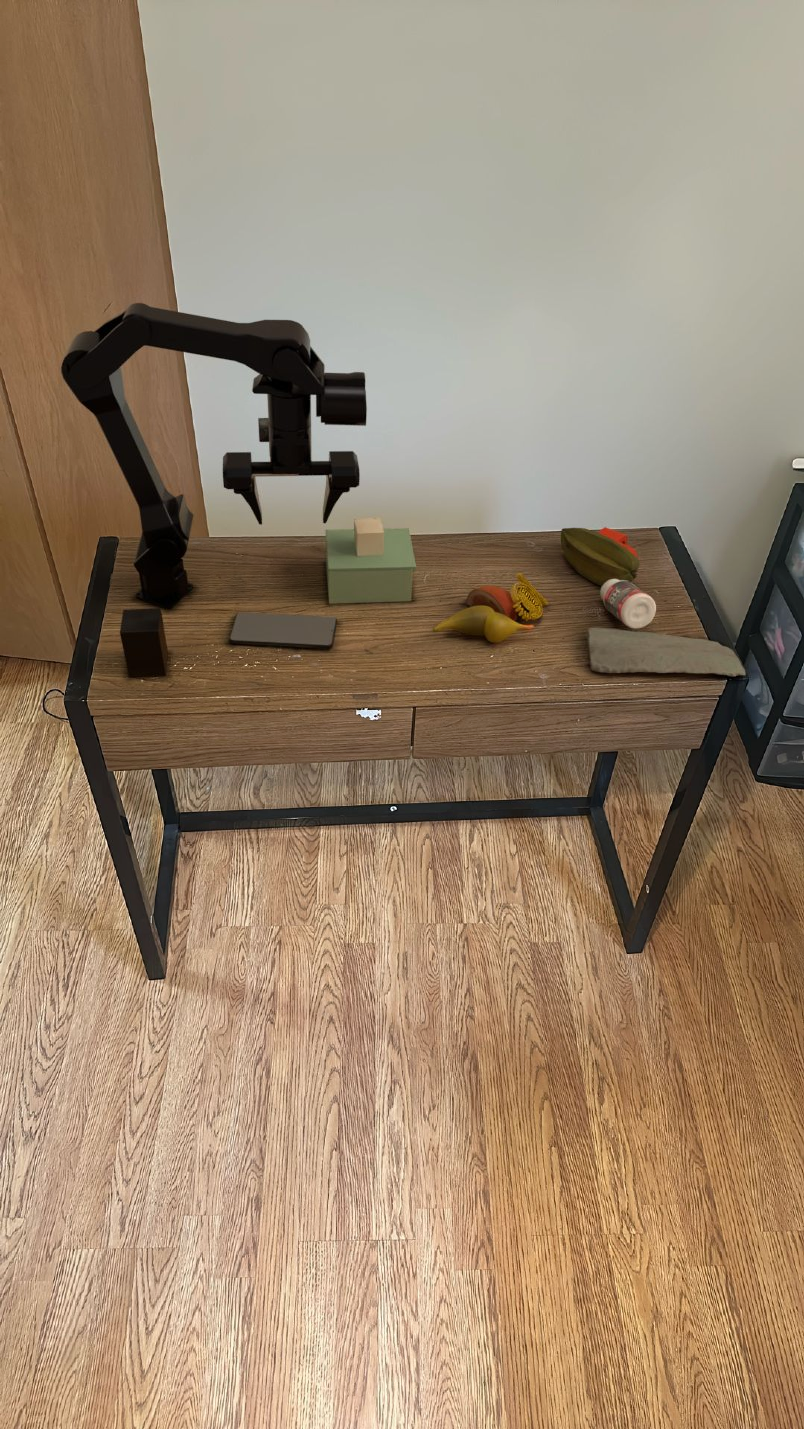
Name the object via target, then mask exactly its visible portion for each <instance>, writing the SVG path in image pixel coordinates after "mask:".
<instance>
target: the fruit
mask: <svg viewBox="0 0 804 1429" xmlns="http://www.w3.org/2000/svg"><path fill="white" fill-rule="evenodd" d="M560 545H561V549H562V551H563V556H564V558H565V559H566V561H567V562H568V563H569V565H570V566H571V567H572V568H573V569H574V570H575V571H576V572H577V573H578V574H579V575H580V576H581V577H582V578H584V579H586V580H588V581H590V582H591V583H592V584H593V583H594V584H595V585H598V586H599V587H602V586H603V585H604V583H605V582H607V581H608V580H611V579H618V580H625V581H629V582H631V581H632V580H635V579H636V578H637V577H638V575H637V571H638V570H639V566H640V565H639V564H640V562H639V558H638V559H637V558H636V556H635V555H634V554H633V553H631V552H630V551H629V550H628V549H626V548H625V547H623V546H621V545H620V544H619V543H617V542H616V541H614V540H612V539H610V538H608V537H606V536H604V535H602V534H599V533H598V531H595V530H591V529H588V528H585V529H584V527H564V528H561V531H560Z"/></svg>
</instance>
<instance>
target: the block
mask: <svg viewBox="0 0 804 1429" xmlns="http://www.w3.org/2000/svg"><path fill="white" fill-rule="evenodd" d="M353 529H354V544H355V549H356V553H357V556H372V555H383V548H384V530H383V529H384V526H383V523H382V519H381V517H377V518H375V517H374V518H373V517H372V518H355V519H353Z"/></svg>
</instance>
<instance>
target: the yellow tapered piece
mask: <svg viewBox="0 0 804 1429" xmlns="http://www.w3.org/2000/svg"><path fill="white" fill-rule="evenodd" d="M534 628H535V626H534V624H529V625H528V624H521V623H519V622H517V621H513V620H512V619H510V618H509V617H507V616H505V615H503V614H501V613H498V612H495V611H494V610H493V609H492V608H490V607H489V606H484V605H480V606H473V607H470V606H469V607H466V608H464V609H462V610H461V611H458V612H456V613H455V614H453V615H452V616H450V617H449V618H446V619H445V620H443V621H442V622H440V623H438V624H436V625H435V626H434V627H433V629H432V631H433V632H439V631H444V630H453V631H457V632H460V633H463V634H467V635H470V636H485V638H486V640H487V641H488V642H491V643H500V642H503V641H504V640H506V639H507V638H509V637H510V636H511V635H512V634H514V633H515V632H517V631H520V630H532V629H534Z"/></svg>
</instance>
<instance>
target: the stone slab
mask: <svg viewBox="0 0 804 1429" xmlns="http://www.w3.org/2000/svg"><path fill="white" fill-rule="evenodd" d="M585 634H586V643H587V649H588V658H589V664H590V665H589V666H590V670H591V671H594V672H598V673H607V674H621V673H657V674H667V673H670V674H671V673H679V674H680V673H681V674H682V673H684V674H703V675H704V674H705V675H706V674H715V675H722V676H728V677H736V676H744V677H745V676H746V675H747V674H746V673H747V672H746V670H745V668H744V666H743V665H742V663H741V660H740V659H739V658H738V656H737V655H736V653H735V651H734V650H733V649H732V648H730V647H727V646H724V645H722V644H720V643H719V642H718V641H713V640H708V639H706V638H705V639H704V638H691V637H686V636H679V635H671V634H666V633H659V632H651V631H639V630H626V629H620V628H612V627H611V628H610V627H603V626H602V627H601V626H600V627H597V626H593V627H589V628H587V629H586V633H585Z"/></svg>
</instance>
